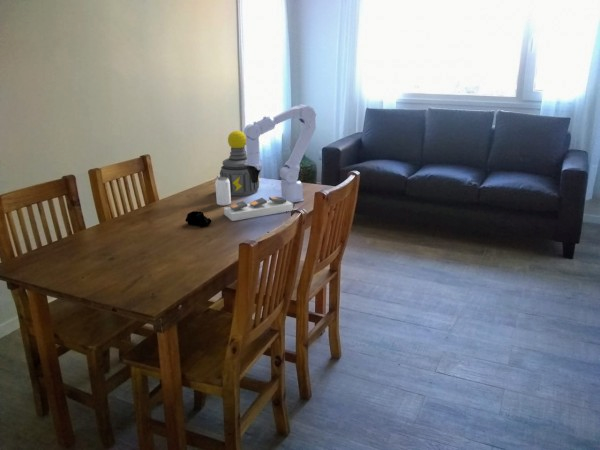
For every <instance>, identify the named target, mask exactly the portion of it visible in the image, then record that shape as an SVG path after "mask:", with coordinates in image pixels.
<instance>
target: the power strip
mask: <svg viewBox="0 0 600 450" xmlns="http://www.w3.org/2000/svg"><path fill="white" fill-rule="evenodd" d="M266 201H267V203H265V204H263V205H260V206H258V207H256V208H254V207H253V206H251V205H250V203H246V204H247V207H244V208H241V209H238V210H235V211H234V210H233V209H231V208H230V206H226V207H223V215H224V216H226V217H227V218H228V219H229V220H230V221H231V222H234V221H241V220H245V219H246V220H247V219H252V218H257V217H263V216H268V215H270V216H271V215H273V214H274V215H275V214H279V213H286V211H287V212H292V210H293V211H294V207H295V202H293V203H291V202H289V201H287V200H286V202H273V201H271V200H269V199H268V200H266Z"/></svg>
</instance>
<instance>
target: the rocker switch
mask: <svg viewBox="0 0 600 450" xmlns="http://www.w3.org/2000/svg"><path fill="white" fill-rule="evenodd" d="M269 200H271V201H273V202H286V200H285V199H284V198H282V196H269V197H268V201H269Z"/></svg>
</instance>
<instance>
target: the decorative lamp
mask: <svg viewBox="0 0 600 450" xmlns="http://www.w3.org/2000/svg"><path fill="white" fill-rule="evenodd" d="M227 143H228V146H229V147H230V151H229V154H230V155H229V157H228V158H226V159H224V160H222V166H220V172H219V177H228V179H229V181H230V194H231V196H233V197H241V196H242V197H243V196H250V195H253V194H256V193H257V192H258V191H259V188H260V175H259V176H258V182H257V183H252V181H251V177H250V174H249V172H248V170H247V168H246V167H249V166H250V165H245V163H246V160H247V152H246V135H245V134H244V131H241V130H233V131H231V132H230V133H229V134H228V137H227Z"/></svg>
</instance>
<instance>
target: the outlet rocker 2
mask: <svg viewBox="0 0 600 450" xmlns="http://www.w3.org/2000/svg"><path fill="white" fill-rule="evenodd" d="M267 201H268V200H267V199H265V198H264V197H261V198H259V199H255V200H253V201H251V202H249V204H250V205H251V206H253V207H254V208H256V207H258V206H260V205H263V204H265V203H267Z"/></svg>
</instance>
